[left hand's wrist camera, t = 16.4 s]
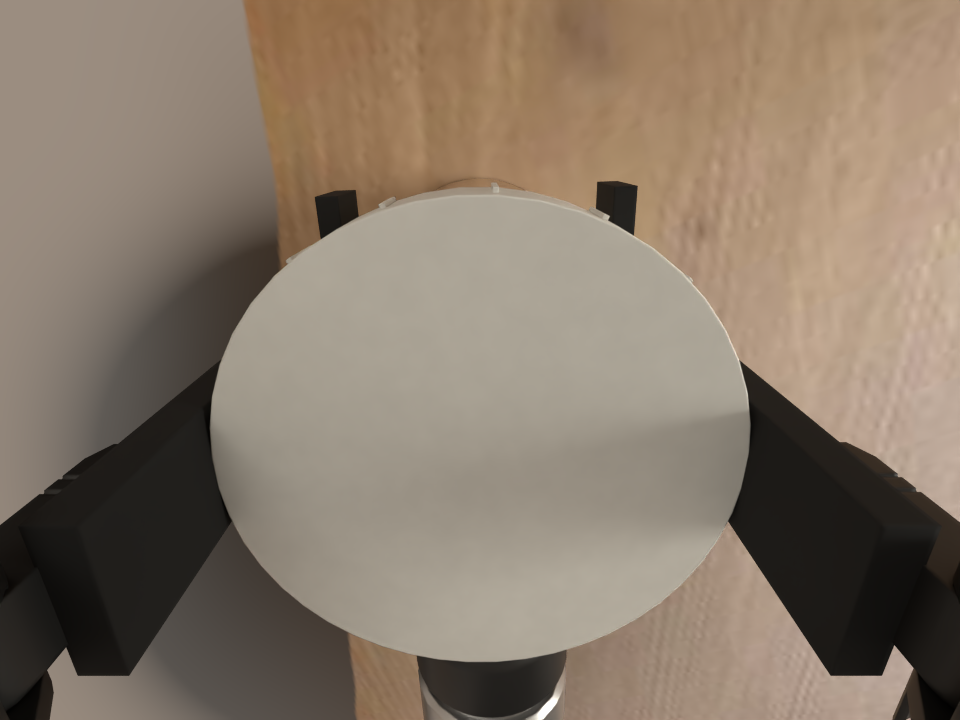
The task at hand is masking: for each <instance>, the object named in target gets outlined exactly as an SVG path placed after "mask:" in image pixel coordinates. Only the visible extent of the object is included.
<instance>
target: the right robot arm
mask: <svg viewBox="0 0 960 720" xmlns="http://www.w3.org/2000/svg"><path fill="white" fill-rule="evenodd" d="M637 187H638V186H636V185H631V184H627V183H623V182H619V181H607V182H597V200H596V209H597V210H599V211H601V212H603V213H605V214H607V215H608V216H610V217H609V219H608V221H610V222H611V223H613V224H615V225H617V226H618V227H620V228H622V229H623V230H625V231H627V232H628V233H630V234H632V235H633V236H634V227H635V214H636V200H637ZM315 202H316V209H317V216H318V223H319V230H320V237H321V239H322V238H324V237H325V236H327V235H329V234H330V233H332V232H333V231H335V230H336V229H338V228H340V227H342V226H343V225H345V224H347V223H349V222H350V221H352V220H354V219H356V218H358V217H359V215H358V207H357V198H356V190H345V191H333V192H330V193H327V194H323V195H320V196H317V197H315ZM417 662H418V666H419V669H418V672H419V681H420V689H421V698H422V706H423V715H424V720H563V719H564V705H565V684H566V665H565V662H566V650H563V651H560V652H557V653H553V654H548V655H543V656H538V657H533V658H527V659H519V660H509V661H499V662H462V661H451V660H440V659H433V658H428V657H423V656H417Z"/></svg>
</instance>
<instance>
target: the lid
mask: <svg viewBox="0 0 960 720" xmlns="http://www.w3.org/2000/svg"><path fill="white" fill-rule="evenodd" d="M609 217H610V216H608V215H607V214H605V213H603V212H601V211H599V210H597V209H595V208H593V207H590V209H589V211H588V210H585V209H583V208H581V207H578V206H576V205H574V204H572V203H569V202H567V201H564V200H560V199H556V198H553V197H549V196H546V195H542V194H538V193H535V192H530V191H522V190H515V189H507V188H499V186H498V184H497V183H491V187H459V188H452V189H445V190H439V191H432V192H425V193H421V194H418V195H414V196H411V197H408V198H404V199H401V200H397V201H396V198H395V197H391V198H389V199H387V200H385V201H384V202H382V203H380V204H379V208H377V209H375V210H373V211H371V212H368V213H366V214H364V215H362V216H359V217H358V218H356V219H354V220H352V221H350V222H349V223H347V224H345V225H343V226H342V227H340V228H338V229H336V230H335V231H333V232H332V233H330V234H329V235H327V236H325V237H324V238H322V239H321V240H319V241H318V242H316V243H315V244H313V245H311V246H309V247H307V248H305V249H303V250H302V251H300V252H298V253H297V254H295V255H293V256H291V257H290V258H288V259H287V260H286V262H287V263H288V264H287V265H286V266H285V267H284V268H283V269H282V270H281V271H279V272H278V273H277V274H276V275H275V276H274V277H273V278H272V279H271V280H270V282H269V283H268V284H267V285H266V286H265V288H264V289H263V290H262V291H261V292H260V293H259V295H258V296H257V297H256V298H255V299H254V301H253V302H252V303H251V304H250V306H249V308H248V309H247V311H246V312H245V314H244V316H243V318H242V319H241V321H240V322H239V324H238V325H237V327H236V329H235V330H234V332H233V334H232V336H231V339H230V341H229V344H228V346H227V348H226V351H225V353H224V356H223V358H222V360H221V363H220V366H219V370H218V374H217V378H216V382H215V387H214V391H213V395H212V405H211V418H210V440H211V453H212V460H213V465H214V469H215V474H216V478H217V483H218V487H219V491H220V493H221V496H222V498H223V501H224V503H225V506H226V509H227V511H228V514H229V516H230V518H231V520H232V522H233V524H234V525H235V527H236V529H237V531H238V533H239V534H240V536H241V538H242V540H243V542H244V543H245V544H246V546H247V547H248V548H249V550H250V551H251V553H252V554H253V555H254V557H255V558H256V559H257V561H258V562H259V563H260V565H261V566H262V567H263V568H264V569H265V570H266V571H267V572H268V573H269V575H270V576H271V577H272V578H273V579H274V580H275V581H276V582H277V583H278V584H279V585H280V586H281V587H282V588H283V589H284V590H286V591H287V592H288V593H289V594H290V595H292V596H293V597H294V598H295V599H296V600H298V601H299V602H300V603H301V604H302V605H304V606H305V607H306V608H308V609H309V610H311V611H313V612H314V613H316V614H317V615H319V616H320V617H322V618H323V619H325V620H326V621H328V622H329V623H331V624H333V625H335V626H337V627H339V628H341V629H343V630H345V631H347V632H349V633H351V634H353V635H355V636H357V637H360V638H362V639H365V640H367V641H370V642H372V643H375V644H377V645H380V646H383V647H386V648H390V649H393V650H397V651H400V652H404V653H407V654H412V655H417V656H423V657H428V658H433V659H440V660H451V661H462V662H499V661H509V660H519V659H527V658H533V657H538V656H543V655H548V654H553V653H557V652H560V651H563V650H567V649H570V648H573V647H577V646H580V645H583V644H586V643H588V642H590V641H593V640H595V639H598V638H600V637H603V636H605V635H608V634H610V633H612V632H614V631H615V630H617V629H619V628H621V627H623V626H625V625H627V624H629V623H630V622H632V621H634V620H636V619H637V618H639V617H640V616H642V615H643V614H645V613H646V612H648V611H649V610H651V609H652V608H653V607H655V606H656V605H658V604H659V603H660V602H662V601H663V600H664V599H665V598H666V597H667V596H669V595H670V594H671V593H672V592H673V591H674V590H676V589H677V588H678V587H679V586H680V585H681V584H682V583H683V582H684V581H685V580H686V579H687V578H688V577H689V576H690V575H691V574H692V573H693V571H694V570H695V569H696V568H697V567H698V566H699V565H700V564H701V563H702V561H703V560H704V559H705V557H706V556H707V554H708V553H709V551H710V550H711V549H712V547H713V546H714V544H715V543H716V542H717V540H718V539H719V537H720V535H721V533H722V531H723V529H724V528H725V526H726V524H727V522H728V520H729V518H730V516H731V514H732V512H733V510H734V507H735V504H736V502H737V499H738V496H739V493H740V490H741V486H742V482H743V477H744V473H745V468H746V464H747V459H748V454H749V444H750V426H751V423H750V413H749V403H748V393H747V388H746V385H745V381H744V377H743V373H742V369H741V365H740V362H739V359H738V357H737V354H736V352H735V350H734V347H733V345H732V343H731V341H730V338H729V336H728V334H727V331H726V329H725V328H724V326H723V325H722V323H721V321H720V320H719V318H718V317H717V315H716V314H715V312H714V310H713V309H712V307H711V306H710V304H709V303H708V301H707V300H706V298H705V297H704V296H703V295H702V294H701V293H700V292H699V291H698V289H697V288H696V287H695V286H694V285H693V284H692V282H693V280H692V279H691V278H690V277H689V276H687V275H686V274H684V273H683V272H681V271H680V270H679V269H678V268H677V267H676V266H674V265H673V264H672V263H671V262H670V261H668V260H667V259H666V258H665V257H664V256H662V255H661V254H660V253H659V252H658V251H656V250H655V249H654V248H653V247H651V246H649V245H648V244H646V243H645V242H643V241H641V240H640V239H638V238H636V237H635V236H633V235H632V234H630V233H628V232H627V231H625V230H623V229H622V228H620V227H618V226H617V225H615V224H613V223H611V222H610V221H608V219H609Z"/></svg>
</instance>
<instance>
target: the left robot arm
mask: <svg viewBox="0 0 960 720" xmlns="http://www.w3.org/2000/svg"><path fill="white" fill-rule="evenodd" d="M221 360H222V359H221ZM221 360H220V361H219V362H218V363H216V364H215V365H214V366H213V367H212V368H210V369H209V370H208V371H207V372H205V373H204V374H203V375H202V376H201V377H199V378H198V379H197V380H196V381H194V382H193V383H192V384H191V385H190V386H188V387H187V388H186V389H185V390H183V391H182V392H181V393H180V394H179V395H177V396H176V397H175V398H174V399H172V400H171V401H170V402H169V403H168V404H166V405H165V406H164V407H163V408H161V409H160V410H159V411H158V412H157V413H155V414H154V415H153V416H152V417H150V418H149V419H148V420H147V421H146V422H144V423H143V424H142V425H141V426H140V427H138V428H137V429H136V430H135V431H133V432H132V433H131V434H130V435H129V436H127V437H126V438H125V439H124V440H122V441H121V442H120V443H119V444H113V445H111V446H109V447H107V448H105V449H103V450H101V451H99V452H97V453H95V454H93V455H91V456H89V457H87V458H85V459H84V460H82V461H81V462H80V463H79V464H77V465H76V466H75V467H74V468H72V469H71V470H70V471H68V472H67V473H66V474H65V475H63V479H58V480H57V481H56V482H54V483H53V484H52V485H51V486H49V487H48V488H47V489H46V490H44V494H39V495H38V496H37V497H35V498H34V499H33V500H32V501H30V502H29V503H28V504H26V505H25V506H24V507H23V508H21V509H20V510H19V511H18V512H16V513H15V514H14V515H12V516H11V517H10V518H9V519H7V520H6V521H5V522H4V523H2V524H1V525H0V720H50V713H51V706H52V700H53V693H54V692H53V686H52V681H51V678H50V676H49V674H48V671H47V669H48V668H49V667H50V666H51V665H52V663H53V662H54V661H55V660H56V659H57V657H58V656H59V655H60V654H61V653H62V651H63V650H64V649H65V648H67V650H68V652H69V655H70V658H71V660H72V663H73V665H74V668H75V670H76V672H77V675H78V676H129V675H130V673H131V672H132V670H133V669H134V667H135V666H136V664H137V663H138V661H139V660H140V658H141V657H142V655H143V654H144V652H145V651H146V649H147V648H148V646H149V645H150V643H151V642H152V640H153V639H154V637H155V636H156V634H157V633H158V631H159V630H160V628H161V627H162V625H163V624H164V622H165V621H166V619H167V618H168V616H169V615H170V613H171V612H172V610H173V609H174V607H175V606H176V604H177V603H178V601H179V600H180V598H181V597H182V595H183V594H184V592H185V591H186V589H187V588H188V586H189V585H190V583H191V582H192V580H193V579H194V577H195V576H196V574H197V573H198V571H199V570H200V568H201V567H202V565H203V564H204V562H205V561H206V559H207V558H208V556H209V554H210V553H211V552H212V550H213V548H214V547H215V546H216V544H217V543H218V541H219V540H220V538H221V537H222V535H223V534H224V532H225V530H226V529H227V528H228V526H229V525H230V523H231V521H232V520H231V518H230V516H229V514H228V511H227V509H226V506H225V503H224V501H223V498H222V496H221V493H220V491H219V487H218V483H217V478H216V474H215V469H214V465H213V460H212V453H211V440H210V418H211V405H212V395H213V391H214V387H215V382H216V378H217V374H218V370H219V366H220V363H221ZM739 362H740V365H741V369H742V373H743V377H744V381H745V385H746V388H747V393H748V403H749V413H750V423H751V426H750V444H749V454H748V459H747V464H746V468H745V473H744V477H743V482H742V486H741V490H740V493H739V496H738V499H737V502H736V504H735V507H734V510H733V512H732V514H731V516H730V518H729V520H728V522H729V523H730V525H731V526H732V528H733V529H734V531H735V532H736V534H737V535H738V537H739V538H740V540H741V541H742V543H743V544H744V546H745V547H746V549H747V550H748V552H749V553H750V555H751V556H752V558H753V559H754V561H755V562H756V564H757V565H758V567H759V568H760V570H761V571H762V573H763V575H764V576H765V578H766V579H767V581H768V582H769V584H770V585H771V587H772V588H773V590H774V591H775V593H776V594H777V596H778V597H779V599H780V600H781V602H782V603H783V605H784V606H785V608H786V609H787V611H788V612H789V614H790V615H791V617H792V618H793V620H794V621H795V623H796V624H797V626H798V627H799V629H800V630H801V632H802V633H803V635H804V636H805V638H806V639H807V641H808V642H809V644H810V645H811V647H812V648H813V650H814V651H815V653H816V654H817V656H818V657H819V659H820V660H821V662H822V663H823V665H824V666H825V668H826V669H827V671H828V672H829V674H830V675H831V676H882V674H883V672H884V669H885V667H886V664H887V662H888V659H889V657H890V654H891V652H892V649H893V647H894V645H895V646H896V647H897V649H898V650H899V651H900V652H901V653H902V655H903V656H904V657H905V658H906V659H907V661H908V662H909V663H910V664H911V665H912V667H913V668H914V669H913V671H912V674H911V676H910V678H909V681H908V683H907V685H906V688H905V690H904V692H903V695H902V697H901V699H900V701H899V704H898V706H897V708H896V711H895V713H894V715H893V720H906V719H908V718H911V720H960V522H959V521H957V520H956V519H955V518H953V517H952V516H951V515H950V514H948V513H947V512H946V511H945V510H943V509H942V508H941V507H939V506H938V505H937V504H936V503H934V502H933V501H932V500H930V499H929V498H928V497H927V496H925V495H924V494H923V493H921V492H916V488H915V487H914V486H912V485H911V484H910V483H909V482H907V481H906V480H905V479H904V478H902V477H898V474H897V473H896V472H895V471H893V470H892V469H891V468H889V467H888V466H887V465H886V464H884V463H883V462H882V461H880V460H879V459H878V458H877V457H875V456H873V455H871V454H869V453H867V452H865V451H863V450H861V449H859V448H857V447H855V446H853V445H851V444H849V443H847V442H839V441H837V440H836V439H835V438H834V437H833V436H831V435H830V434H829V433H828V432H826V431H825V430H824V429H823V428H822V427H820V426H819V425H818V424H817V423H815V422H814V421H813V420H812V419H811V418H809V417H808V416H807V415H806V414H804V413H803V412H802V411H801V410H800V409H798V408H797V407H796V406H795V405H793V404H792V403H791V402H790V401H789V400H787V399H786V398H785V397H784V396H782V395H781V394H780V393H779V392H778V391H776V390H775V389H774V388H773V387H771V386H770V385H769V384H768V383H767V382H765V381H764V380H763V379H762V378H760V377H759V376H758V375H757V374H756V373H754V372H753V371H752V370H751V369H749V368H748V367H747V366H746V365H745V364H743V363H742V362H741V361H740V360H739Z"/></svg>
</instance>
